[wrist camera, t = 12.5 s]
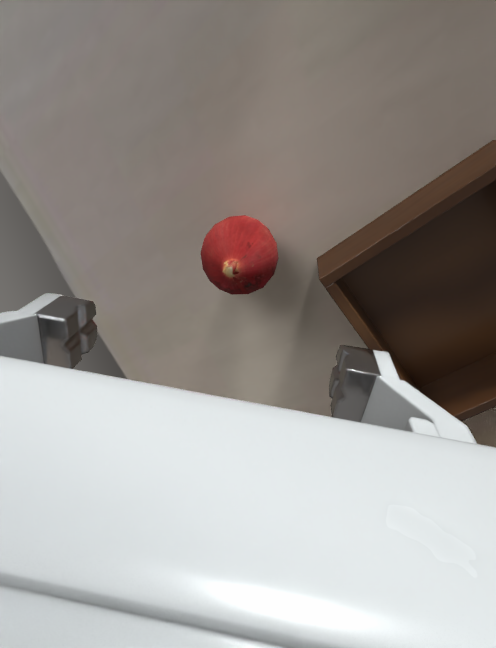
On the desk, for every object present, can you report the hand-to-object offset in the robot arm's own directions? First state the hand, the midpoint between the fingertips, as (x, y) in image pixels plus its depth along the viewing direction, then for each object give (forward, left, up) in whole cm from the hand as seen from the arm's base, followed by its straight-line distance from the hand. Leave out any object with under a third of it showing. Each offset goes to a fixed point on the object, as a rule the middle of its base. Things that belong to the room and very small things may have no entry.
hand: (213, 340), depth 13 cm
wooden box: (+13, +9, -21) cm, 26 cm away
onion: (+1, -3, -21) cm, 21 cm away
